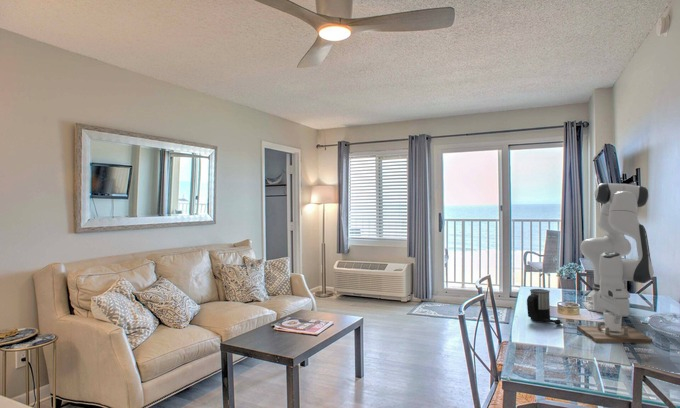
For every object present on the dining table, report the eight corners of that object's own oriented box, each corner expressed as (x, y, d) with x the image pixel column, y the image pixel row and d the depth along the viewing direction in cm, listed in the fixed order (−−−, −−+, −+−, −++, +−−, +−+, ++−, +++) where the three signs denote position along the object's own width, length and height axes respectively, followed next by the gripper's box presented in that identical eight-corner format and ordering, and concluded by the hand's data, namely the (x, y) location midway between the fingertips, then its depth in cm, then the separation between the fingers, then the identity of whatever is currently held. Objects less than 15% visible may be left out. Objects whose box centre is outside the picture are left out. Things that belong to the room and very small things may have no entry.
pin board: (577, 329, 192) (576, 319, 192) (628, 329, 189) (628, 319, 189) (594, 342, 175) (594, 331, 175) (652, 342, 171) (652, 331, 171)
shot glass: (625, 331, 178) (624, 315, 178) (607, 331, 179) (607, 315, 179) (618, 327, 184) (617, 311, 184) (601, 326, 186) (600, 311, 186)
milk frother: (533, 316, 215) (532, 287, 215) (567, 321, 205) (566, 291, 205) (525, 323, 204) (524, 293, 204) (560, 328, 194) (559, 296, 194)
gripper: (592, 285, 192) (594, 314, 192) (615, 295, 172) (617, 328, 172) (607, 285, 191) (608, 314, 191) (632, 294, 171) (633, 328, 171)
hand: (612, 321), depth 182 cm, fingers closed on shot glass, 5 cm apart
